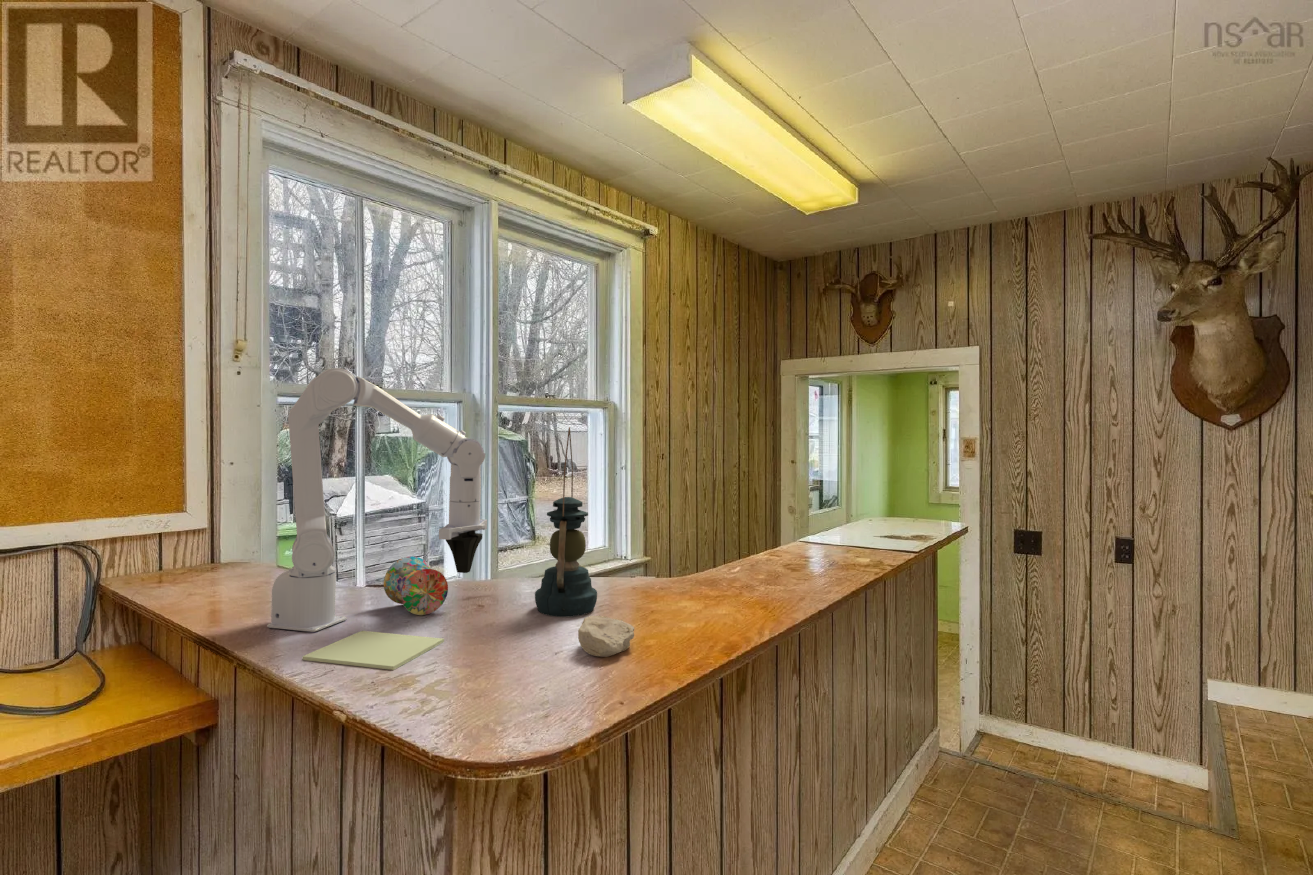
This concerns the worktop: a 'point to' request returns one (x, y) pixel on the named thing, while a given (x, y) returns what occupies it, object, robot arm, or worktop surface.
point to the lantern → (566, 562)
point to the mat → (374, 650)
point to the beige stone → (604, 635)
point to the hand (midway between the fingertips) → (463, 572)
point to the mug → (415, 585)
